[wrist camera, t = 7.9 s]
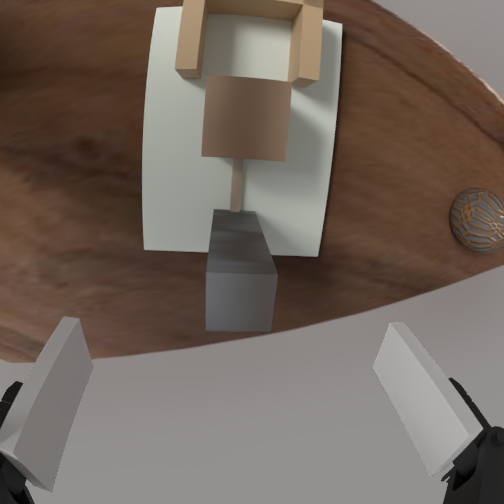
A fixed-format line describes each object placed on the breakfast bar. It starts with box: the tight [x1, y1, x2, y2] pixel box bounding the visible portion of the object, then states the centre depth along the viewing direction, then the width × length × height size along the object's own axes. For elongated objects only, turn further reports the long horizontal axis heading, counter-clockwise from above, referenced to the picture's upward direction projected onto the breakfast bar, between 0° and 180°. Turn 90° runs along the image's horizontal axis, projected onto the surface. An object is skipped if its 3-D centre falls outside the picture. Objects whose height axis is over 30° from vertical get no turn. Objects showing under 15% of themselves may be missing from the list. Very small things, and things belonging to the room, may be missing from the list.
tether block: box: [201, 75, 292, 332], centre depth 19 cm, size 5×14×12 cm, turn 175°
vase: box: [450, 188, 504, 254], centre depth 25 cm, size 7×7×9 cm
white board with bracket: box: [142, 0, 342, 257], centre depth 22 cm, size 16×22×5 cm
